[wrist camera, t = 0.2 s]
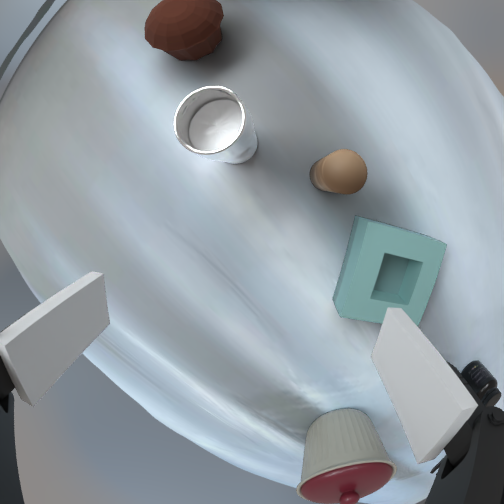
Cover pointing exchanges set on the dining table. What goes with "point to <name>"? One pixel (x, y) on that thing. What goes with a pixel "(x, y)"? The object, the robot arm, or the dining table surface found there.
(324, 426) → the canister
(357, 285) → the socket block
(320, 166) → the dowel pin
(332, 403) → the dining table surface
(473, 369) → the supplement bottle
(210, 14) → the muffin
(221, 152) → the beer glass
